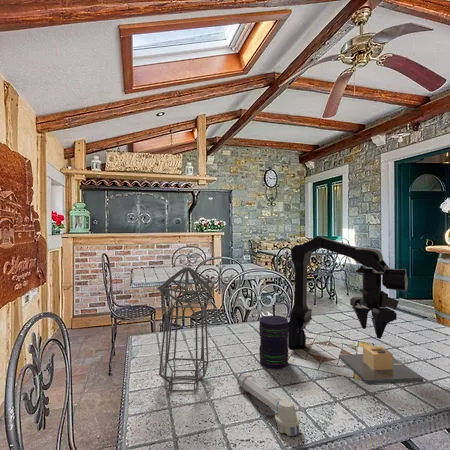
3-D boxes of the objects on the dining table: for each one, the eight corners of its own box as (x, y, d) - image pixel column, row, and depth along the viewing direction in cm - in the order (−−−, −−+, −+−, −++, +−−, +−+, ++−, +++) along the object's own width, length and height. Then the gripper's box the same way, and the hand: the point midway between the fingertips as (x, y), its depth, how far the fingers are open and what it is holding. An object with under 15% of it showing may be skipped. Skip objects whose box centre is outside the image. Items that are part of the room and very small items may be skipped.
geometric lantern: (164, 371, 100) (167, 263, 101) (212, 373, 100) (215, 264, 100) (151, 397, 85) (154, 269, 85) (208, 399, 84) (211, 271, 85)
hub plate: (365, 383, 92) (365, 365, 92) (338, 357, 110) (338, 342, 110) (423, 380, 93) (423, 362, 93) (387, 355, 111) (387, 340, 111)
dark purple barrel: (256, 367, 103) (255, 322, 103) (262, 355, 112) (262, 314, 112) (286, 371, 100) (285, 325, 100) (290, 359, 109) (290, 316, 109)
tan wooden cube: (381, 360, 105) (380, 344, 105) (392, 369, 99) (392, 352, 99) (363, 361, 105) (362, 345, 105) (373, 370, 98) (373, 352, 98)
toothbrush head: (250, 370, 93) (303, 401, 71) (252, 393, 92) (306, 432, 70) (234, 373, 91) (284, 406, 68) (236, 397, 90) (286, 439, 68)
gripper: (413, 292, 95) (413, 343, 95) (378, 281, 114) (378, 323, 114) (378, 293, 94) (378, 344, 94) (349, 281, 113) (349, 324, 113)
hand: (371, 333), depth 104 cm, fingers open, 9 cm apart
